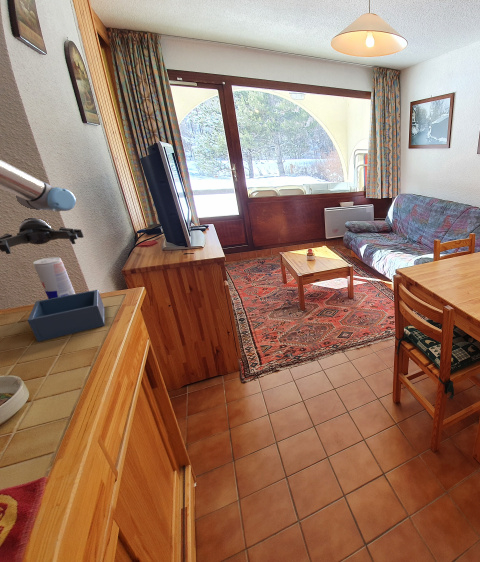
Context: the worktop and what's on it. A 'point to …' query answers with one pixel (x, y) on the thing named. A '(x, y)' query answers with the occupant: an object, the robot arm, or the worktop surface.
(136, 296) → the worktop surface
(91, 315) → the tote
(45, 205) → the robot arm
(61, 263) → the beverage can
